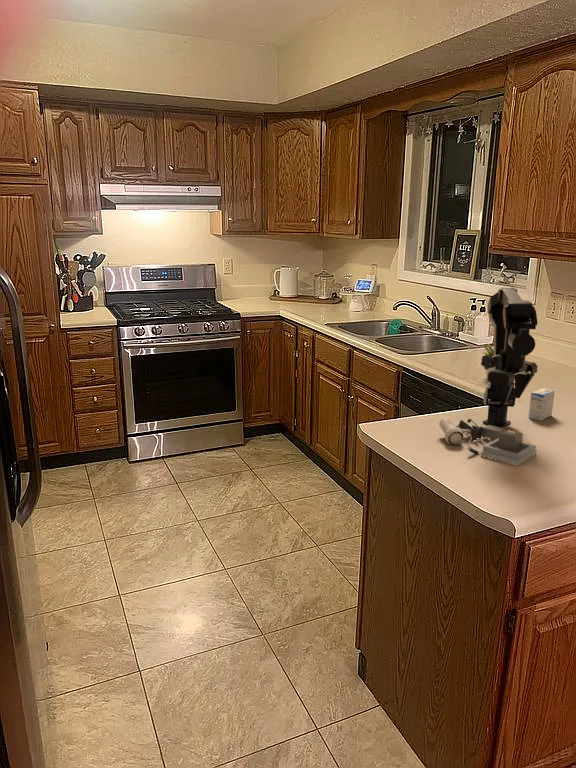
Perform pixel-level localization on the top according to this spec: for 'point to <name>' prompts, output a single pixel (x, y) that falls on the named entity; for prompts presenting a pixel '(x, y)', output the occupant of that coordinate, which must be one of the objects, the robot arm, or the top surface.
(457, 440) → the clip-on lamp
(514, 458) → the blue gray tray
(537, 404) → the medicine box
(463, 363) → the top surface
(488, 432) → the cable plug
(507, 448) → the brick
